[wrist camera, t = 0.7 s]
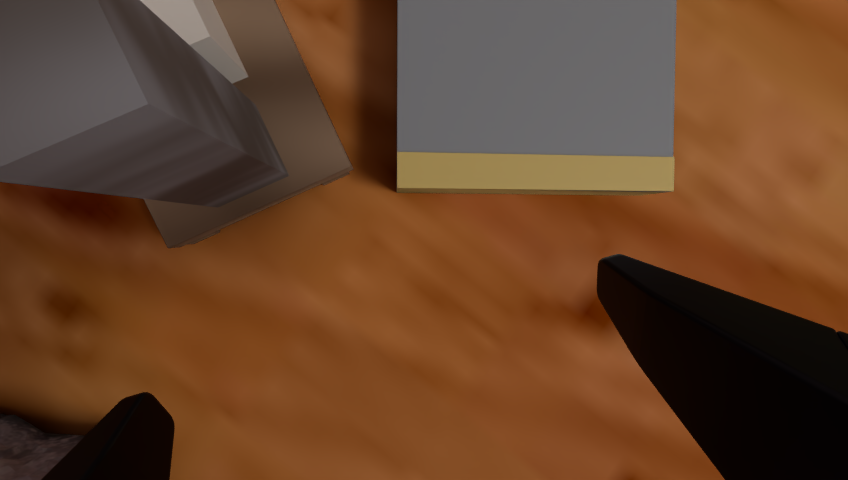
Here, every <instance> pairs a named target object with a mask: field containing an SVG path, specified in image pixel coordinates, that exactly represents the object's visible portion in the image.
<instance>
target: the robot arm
mask: <svg viewBox="0 0 848 480" xmlns="http://www.w3.org/2000/svg"><path fill="white" fill-rule="evenodd" d="M597 294H598V298H599V300H600V302H601V304H602V305H603V307H604V309H605V310H606V312H607V314H608V315H609V317H610V319H611V320H612V322H613V324H614V325H615V327H616V329H617V330H618V332H619V334H620V335H621V337H622V339H623V340H624V342H625V344H626V345H627V347H628V349H629V350H630V352H631V354H632V355H633V357H634V358H635V360H636V362H637V363H638V365H639V366H640V367H641V369H642V370H643V372H644V373H645V374H646V376H647V377H648V378H649V380H650V381H651V382H652V384H653V385H654V386H655V388H656V389H657V390H658V392H659V393H660V394H661V396H662V397H663V398H664V400H665V401H666V402H667V403H668V405H669V406H670V407H671V409H672V410H673V411H674V413H675V414H676V415H677V417H678V418H679V419H680V421H681V422H682V423H683V425H684V426H685V427H686V429H687V430H688V431H689V433H690V434H691V435H692V437H693V438H694V439H695V441H696V442H697V443H698V445H699V446H700V447H701V448H702V450H703V451H704V452H705V454H706V455H707V456H708V458H709V459H710V460H711V462H712V463H713V464H714V466H715V467H716V468H717V470H718V471H719V472H720V474H721V475H722V476H723V478H724V479H725V480H848V334H847V333H844V332H841V331H838V332H836V331H835V330H834V329H832V328H830V327H827V326H824V325H821V324H818V323H815V322H813V321H810V320H807V319H804V318H801V317H798V316H796V315H793V314H790V313H787V312H784V311H781V310H779V309H776V308H773V307H770V306H767V305H764V304H761V303H759V302H756V301H753V300H750V299H747V298H744V297H742V296H739V295H736V294H733V293H730V292H727V291H724V290H722V289H719V288H716V287H713V286H710V285H707V284H705V283H702V282H699V281H696V280H693V279H690V278H688V277H685V276H682V275H679V274H676V273H673V272H670V271H668V270H665V269H662V268H659V267H656V266H653V265H651V264H648V263H645V262H642V261H639V260H636V259H633V258H631V257H628V256H625V255H622V254H616V255H612V256H609V257H605V258H602V259H601V260H600V261H599V263H598V271H597ZM173 439H174V421H173V419H172V416H171V415H170V414H169V413H168V412H167V410H166V409H165V408H164V407H163V406H162V405H161V404H160V402H159V401H158V400H157V399H156V398H155V397H154V396H153V395H152V394H150V393H148V392H143V393H139V394H136V395H132V396H129V397H126V398H124V399H122V400H121V401H120V402H119V403H118V404H117V405H116V406H115V407H114V408H113V409H112V410H111V411H110V412H109V413H108V414H107V415H106V416H105V417H104V418H103V419H102V420H101V421H100V422H99V423H98V424H97V425H96V426H95V427H94V428H93V429H92V430H91V431H89V432H88V433H87V434H86V435H85V436H84V437H83V438H82V439H81V440H80V441H79V442H78V443H77V444H76V445H75V446H74V447H73V448H72V449H71V450H70V451H69V452H68V453H67V454H66V455H65V456H64V457H63V458H62V459H61V460H60V461H59V462H58V463H57V464H56V465H55V466H54V467H53V468H52V469H51V470H50V471H49V472H48V473H47V474H46V475H45V476H44V477H43V478H42V479H41V480H169V479H170V469H171V459H172V449H173Z"/></svg>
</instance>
